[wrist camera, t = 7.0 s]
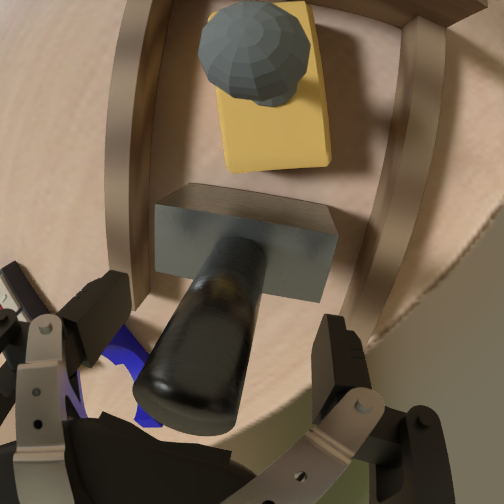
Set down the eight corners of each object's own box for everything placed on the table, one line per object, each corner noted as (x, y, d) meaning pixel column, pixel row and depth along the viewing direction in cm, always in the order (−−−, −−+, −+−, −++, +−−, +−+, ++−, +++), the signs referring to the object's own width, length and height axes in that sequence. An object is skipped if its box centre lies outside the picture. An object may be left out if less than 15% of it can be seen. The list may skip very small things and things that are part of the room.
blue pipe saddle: (88, 316, 27) (58, 350, 22) (111, 305, 26) (79, 343, 20) (152, 390, 31) (134, 427, 25) (179, 386, 29) (162, 427, 24)
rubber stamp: (325, 160, 18) (375, 211, 7) (238, 166, 19) (163, 225, 8) (307, 20, 14) (321, -91, 3) (220, 30, 15) (136, -58, 4)
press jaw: (189, 182, 19) (29, 296, 6) (326, 205, 19) (386, 381, 6) (186, 236, 21) (64, 386, 8) (313, 259, 20) (330, 454, 7)
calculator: (-4, 270, 23) (68, 375, 26) (20, 256, 27) (86, 354, 30) (-19, 298, 26) (39, 382, 30) (0, 285, 30) (54, 365, 34)
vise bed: (154, -17, 13) (98, -59, 6) (427, 17, 12) (483, -20, 4) (130, 286, 24) (82, 343, 17) (356, 330, 23) (371, 405, 16)
